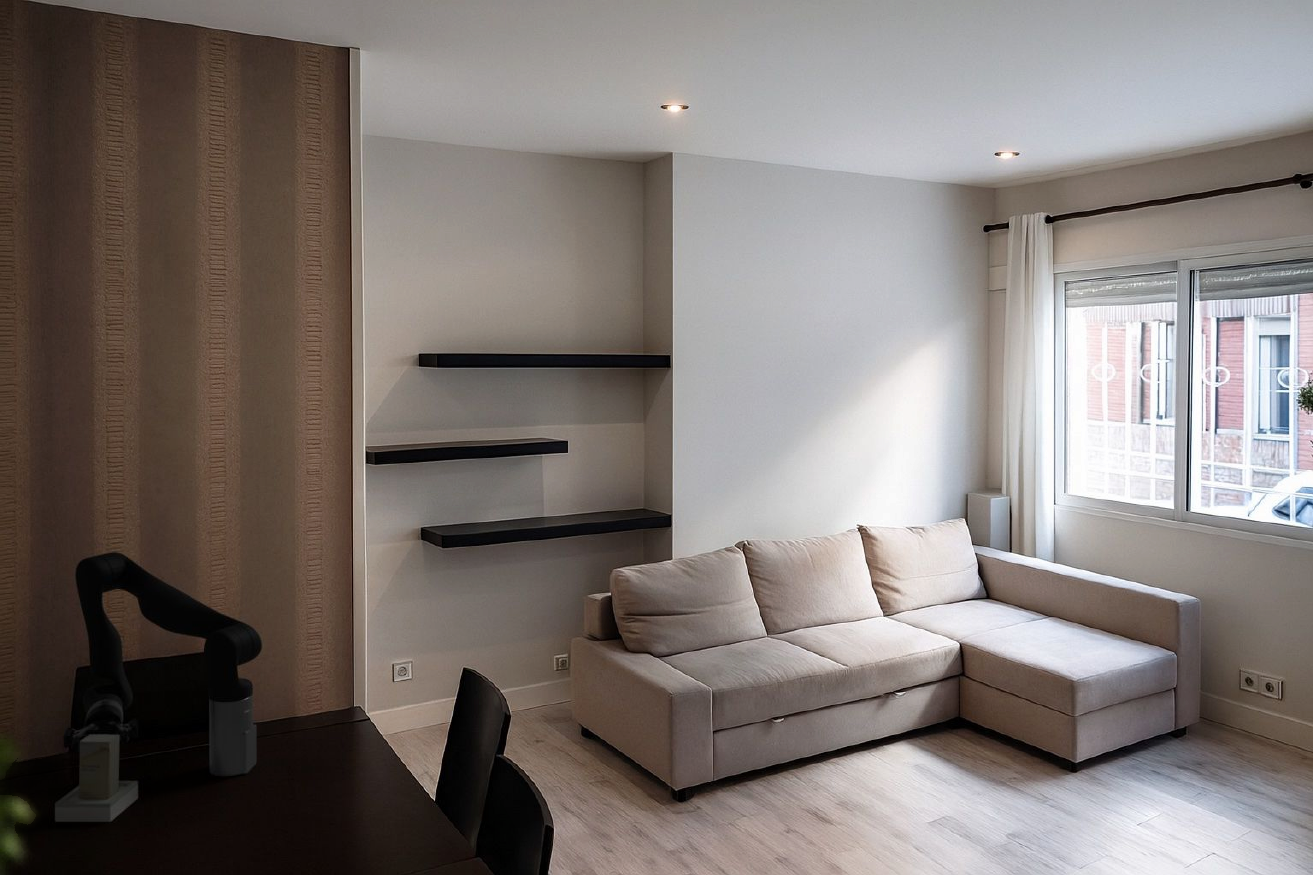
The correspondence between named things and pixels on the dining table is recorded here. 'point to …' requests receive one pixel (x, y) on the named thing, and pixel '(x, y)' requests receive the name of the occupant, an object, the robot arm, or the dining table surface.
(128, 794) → the shallow open tray
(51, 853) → the dining table surface
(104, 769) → the skincare box
